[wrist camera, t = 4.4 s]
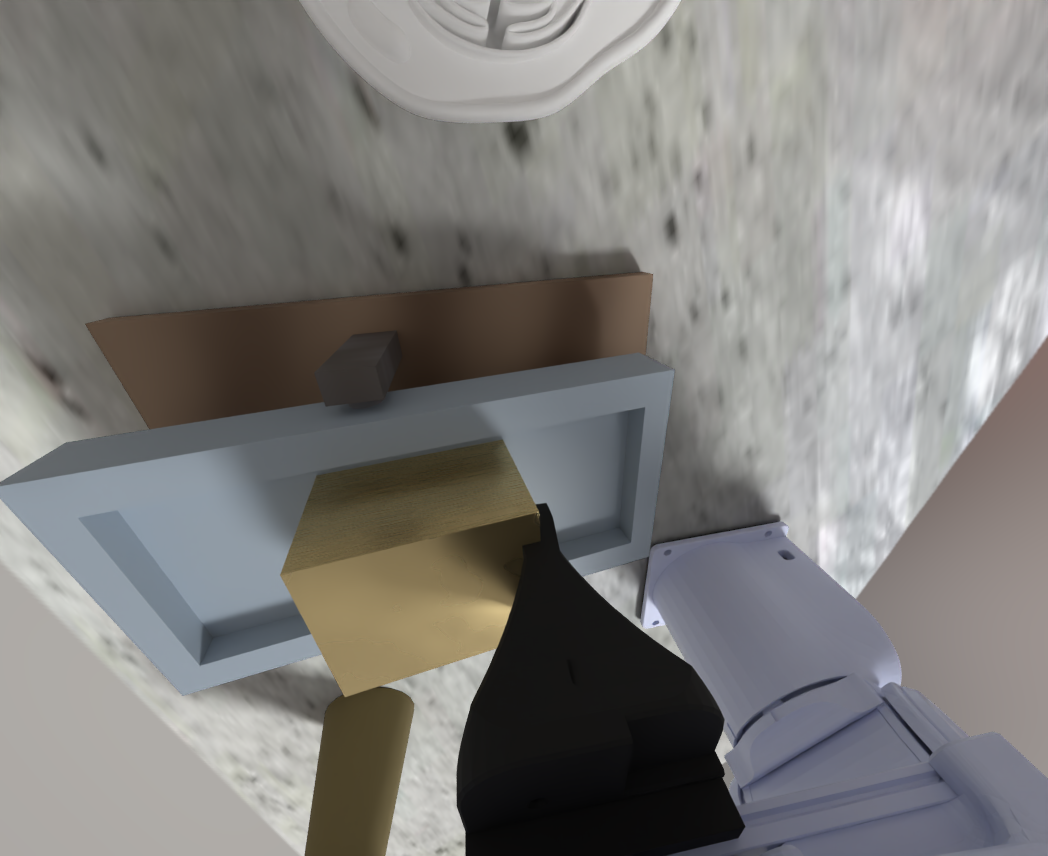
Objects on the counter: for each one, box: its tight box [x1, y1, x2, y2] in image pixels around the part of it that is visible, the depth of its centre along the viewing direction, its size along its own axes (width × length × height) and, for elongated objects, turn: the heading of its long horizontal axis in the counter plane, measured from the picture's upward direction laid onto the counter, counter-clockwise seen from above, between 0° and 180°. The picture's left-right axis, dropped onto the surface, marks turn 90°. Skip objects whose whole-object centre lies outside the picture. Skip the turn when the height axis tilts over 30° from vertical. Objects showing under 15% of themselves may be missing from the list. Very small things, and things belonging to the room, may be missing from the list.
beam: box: [0, 353, 675, 696], centre depth 13 cm, size 18×9×2 cm, turn 93°
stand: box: [85, 272, 653, 429], centre depth 15 cm, size 20×14×5 cm
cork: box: [305, 687, 414, 856], centre depth 22 cm, size 6×6×11 cm
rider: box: [280, 440, 541, 697], centre depth 12 cm, size 6×5×4 cm
